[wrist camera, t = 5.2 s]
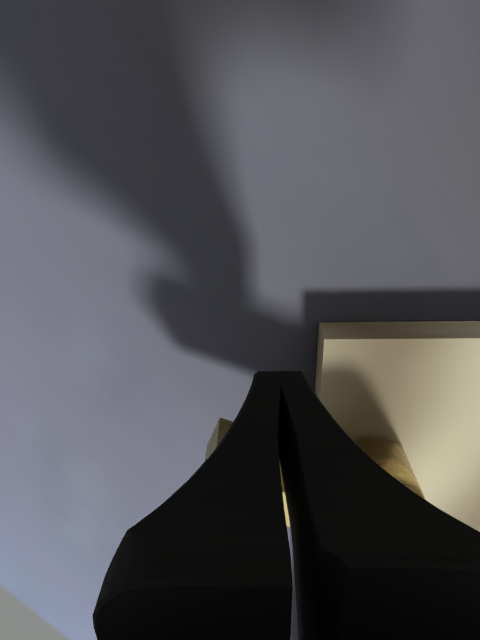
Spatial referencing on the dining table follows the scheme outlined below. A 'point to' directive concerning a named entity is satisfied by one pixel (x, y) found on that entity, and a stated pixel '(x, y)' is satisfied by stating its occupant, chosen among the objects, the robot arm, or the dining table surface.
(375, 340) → the base
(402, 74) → the dining table surface
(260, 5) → the dining table surface
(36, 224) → the dining table surface
